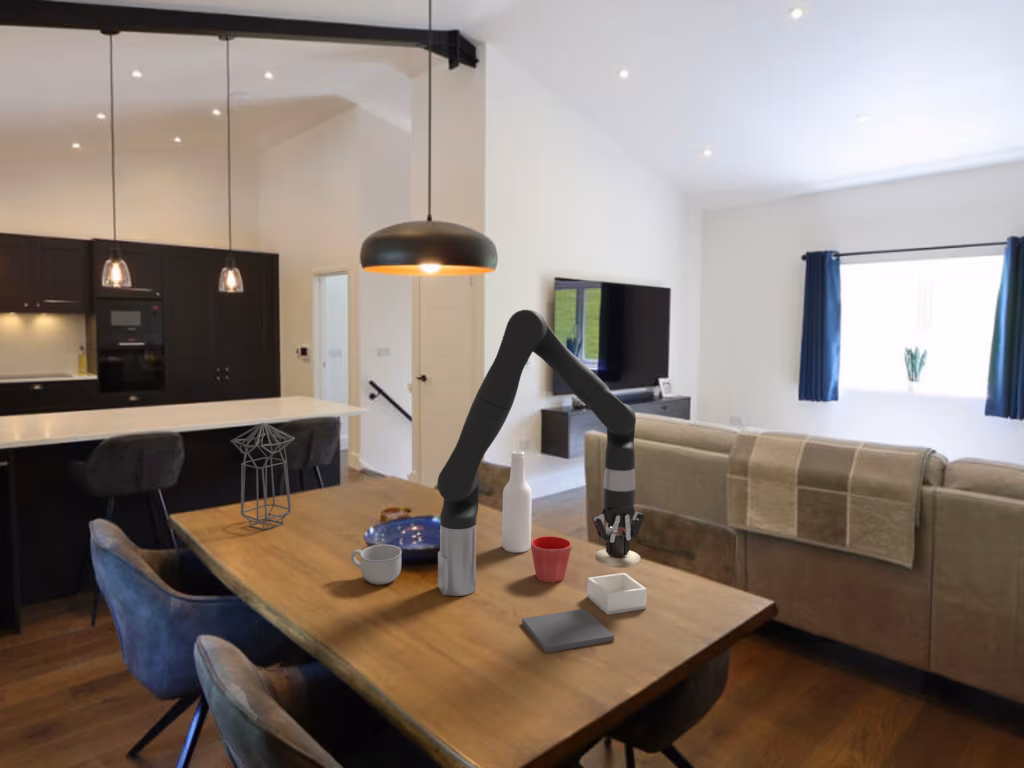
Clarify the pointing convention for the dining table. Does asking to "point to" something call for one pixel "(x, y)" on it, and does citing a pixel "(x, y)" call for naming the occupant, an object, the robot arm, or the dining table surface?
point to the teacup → (379, 563)
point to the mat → (567, 630)
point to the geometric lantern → (234, 441)
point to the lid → (618, 555)
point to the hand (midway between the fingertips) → (617, 554)
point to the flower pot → (550, 557)
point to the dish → (616, 593)
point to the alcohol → (517, 508)
